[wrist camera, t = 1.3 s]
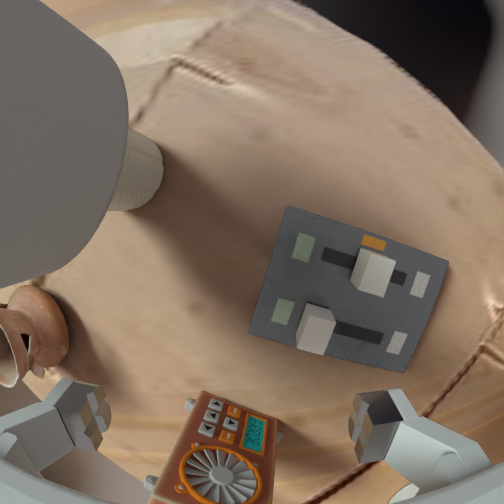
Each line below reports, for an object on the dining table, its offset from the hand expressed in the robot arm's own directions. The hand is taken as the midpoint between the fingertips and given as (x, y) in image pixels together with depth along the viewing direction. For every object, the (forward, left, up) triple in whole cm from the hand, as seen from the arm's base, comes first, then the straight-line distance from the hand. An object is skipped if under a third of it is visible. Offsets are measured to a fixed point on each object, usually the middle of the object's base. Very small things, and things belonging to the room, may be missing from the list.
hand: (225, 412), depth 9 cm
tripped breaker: (-11, -3, -27) cm, 30 cm away
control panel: (-2, +25, -31) cm, 40 cm away
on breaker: (-7, +5, -27) cm, 29 cm away
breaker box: (-11, +1, -31) cm, 33 cm away
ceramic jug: (+34, +22, -31) cm, 51 cm away
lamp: (+21, -6, -31) cm, 38 cm away
